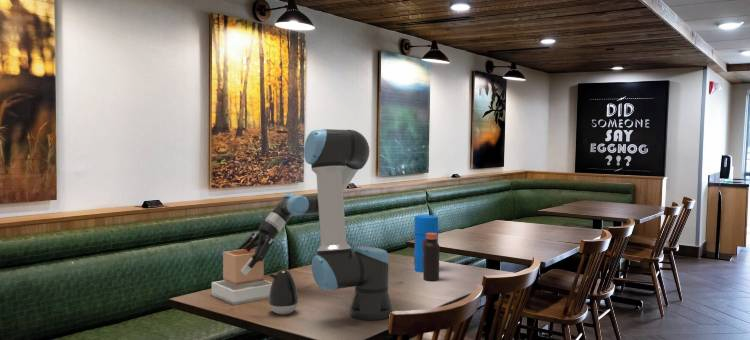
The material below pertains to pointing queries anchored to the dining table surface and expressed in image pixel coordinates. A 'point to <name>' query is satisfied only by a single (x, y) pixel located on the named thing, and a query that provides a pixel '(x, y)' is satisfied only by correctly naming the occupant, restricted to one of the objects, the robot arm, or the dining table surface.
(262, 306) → the dining table surface
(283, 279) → the pump dispenser
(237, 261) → the terracotta crate
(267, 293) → the white tray
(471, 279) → the dining table surface
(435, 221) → the thermos
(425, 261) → the bottle
